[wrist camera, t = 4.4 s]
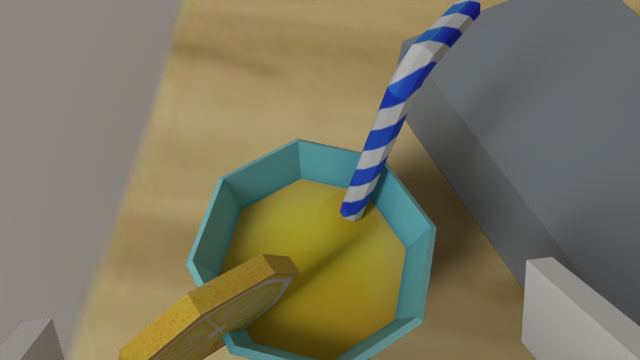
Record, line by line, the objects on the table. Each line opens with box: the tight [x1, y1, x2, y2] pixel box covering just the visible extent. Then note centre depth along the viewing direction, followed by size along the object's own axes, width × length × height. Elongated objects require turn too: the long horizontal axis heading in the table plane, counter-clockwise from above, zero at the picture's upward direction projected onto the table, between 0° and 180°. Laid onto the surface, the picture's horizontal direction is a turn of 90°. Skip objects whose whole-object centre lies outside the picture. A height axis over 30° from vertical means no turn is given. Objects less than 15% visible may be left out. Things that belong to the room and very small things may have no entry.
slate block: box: [397, 0, 640, 325], centre depth 26 cm, size 13×17×5 cm
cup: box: [118, 0, 480, 360], centre depth 17 cm, size 14×8×15 cm, turn 144°
